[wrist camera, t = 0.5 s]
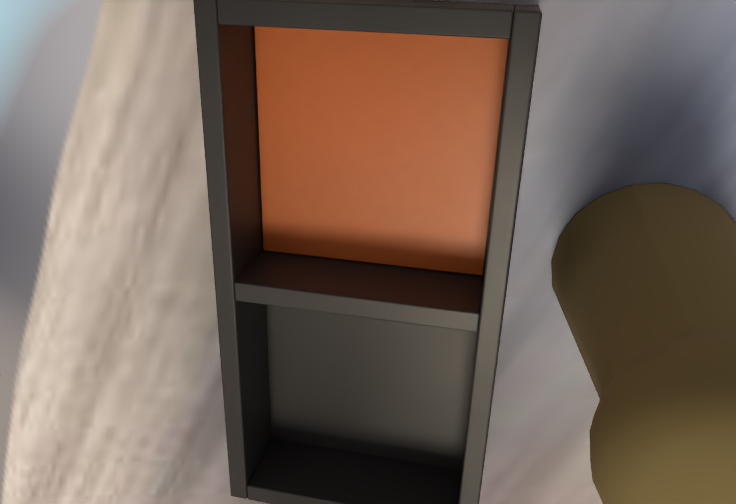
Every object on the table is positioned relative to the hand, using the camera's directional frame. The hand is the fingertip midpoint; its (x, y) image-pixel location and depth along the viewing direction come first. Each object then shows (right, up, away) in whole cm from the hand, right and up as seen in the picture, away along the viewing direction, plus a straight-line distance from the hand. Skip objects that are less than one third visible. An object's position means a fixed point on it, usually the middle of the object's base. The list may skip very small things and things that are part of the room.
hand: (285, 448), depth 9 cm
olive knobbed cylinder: (+10, +2, +13) cm, 16 cm away
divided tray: (+1, +2, +15) cm, 15 cm away
